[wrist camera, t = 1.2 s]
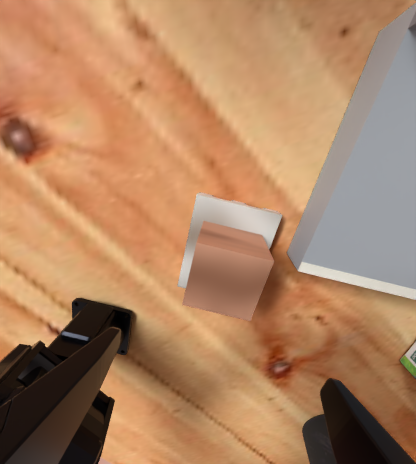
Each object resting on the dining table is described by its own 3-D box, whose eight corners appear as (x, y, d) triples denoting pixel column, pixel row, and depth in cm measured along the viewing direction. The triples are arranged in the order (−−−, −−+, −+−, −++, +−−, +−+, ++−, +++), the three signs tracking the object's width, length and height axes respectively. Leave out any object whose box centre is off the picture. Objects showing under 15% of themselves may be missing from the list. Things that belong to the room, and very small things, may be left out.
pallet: (247, 294, 21) (255, 344, 15) (180, 278, 21) (164, 322, 15) (278, 211, 18) (302, 236, 12) (198, 191, 17) (186, 208, 12)
